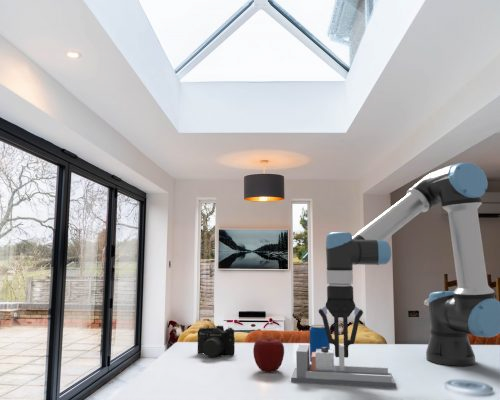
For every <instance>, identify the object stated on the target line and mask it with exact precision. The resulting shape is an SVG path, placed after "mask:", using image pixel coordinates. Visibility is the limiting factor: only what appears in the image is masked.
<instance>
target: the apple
mask: <svg viewBox="0 0 500 400" xmlns="http://www.w3.org/2000/svg"><path fill="white" fill-rule="evenodd" d="M252 351H253V358H254V362H255V364H256V366H257V367H258V369H259V370H260V371H261V372H263V373H275V372H276V371H278V369H280V367H281V365H282V364H283V361H284V357H285V346H284V344H283V342H282V341H281V340H280V339H277V338H273V337H259V338H258V339H257V340H255V342H254V344H253V349H252Z"/></svg>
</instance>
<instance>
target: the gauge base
mask: <svg viewBox="0 0 500 400" xmlns="http://www.w3.org/2000/svg"><path fill="white" fill-rule="evenodd" d="M295 355H296V367H295V368H294V369H293V372H292V374H291V377H290V382H291V383H300V384H301V383H303V384H321V385H334V386H352V387H353V386H354V387H368V388H369V387H371V388H373V387H374V388H385V389H386V388H387V389H389V388H391V389H397V383H396V381H395V378H394V377H393V373H392V372H389V368H388V367H386V366H384V367H383V366H366V365H345V364H344V365H345V370H339V364H334V372H315V371H311V362H310V344H309V345H308V344H299V345H298V347H297V349H296V353H295Z"/></svg>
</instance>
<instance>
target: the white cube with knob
mask: <svg viewBox="0 0 500 400" xmlns="http://www.w3.org/2000/svg"><path fill="white" fill-rule="evenodd" d="M334 356H335V349H332V348H331V349H328V347H321V349H316V372H334V365H335V357H334Z"/></svg>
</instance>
